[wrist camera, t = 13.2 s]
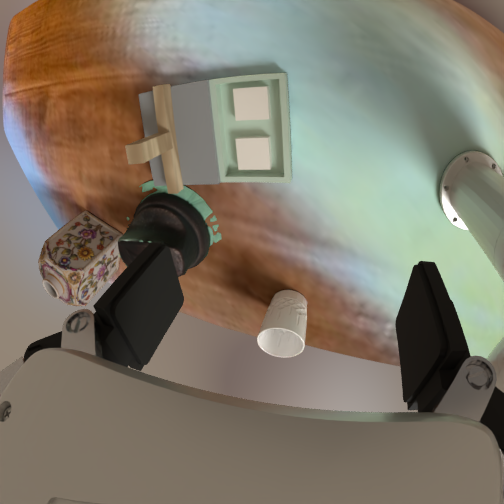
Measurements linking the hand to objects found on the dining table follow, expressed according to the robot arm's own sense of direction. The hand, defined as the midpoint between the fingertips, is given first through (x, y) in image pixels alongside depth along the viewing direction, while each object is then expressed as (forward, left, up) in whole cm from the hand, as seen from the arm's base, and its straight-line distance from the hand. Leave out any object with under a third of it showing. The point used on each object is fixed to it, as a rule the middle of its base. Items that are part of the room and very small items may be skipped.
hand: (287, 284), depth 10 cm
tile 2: (+9, +2, -28) cm, 30 cm away
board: (+19, -1, -30) cm, 36 cm away
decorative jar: (+45, +19, -31) cm, 58 cm away
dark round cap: (+26, +16, -31) cm, 43 cm away
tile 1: (+8, -5, -28) cm, 30 cm away
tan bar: (+20, -1, -27) cm, 34 cm away
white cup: (+4, +30, -31) cm, 43 cm away
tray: (+9, -1, -30) cm, 32 cm away
